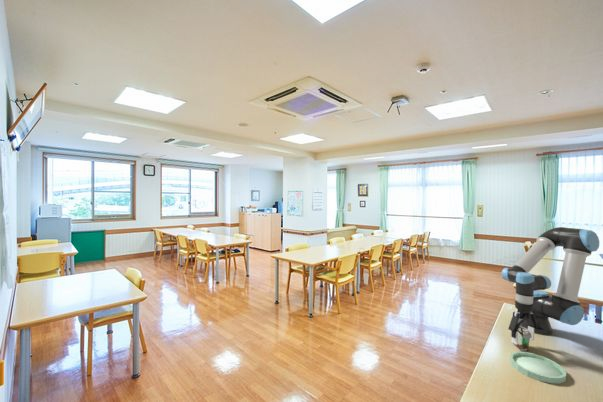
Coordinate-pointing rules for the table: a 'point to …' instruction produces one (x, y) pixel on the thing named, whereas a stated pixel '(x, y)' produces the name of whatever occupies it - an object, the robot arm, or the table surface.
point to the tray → (538, 367)
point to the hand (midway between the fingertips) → (522, 341)
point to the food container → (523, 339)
